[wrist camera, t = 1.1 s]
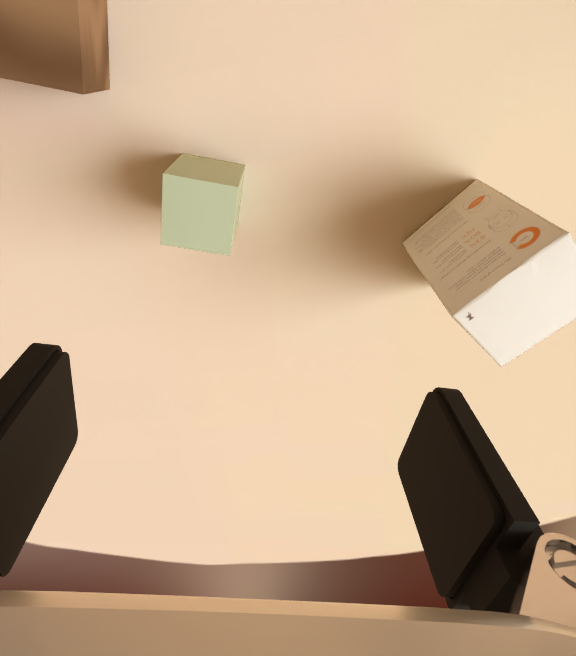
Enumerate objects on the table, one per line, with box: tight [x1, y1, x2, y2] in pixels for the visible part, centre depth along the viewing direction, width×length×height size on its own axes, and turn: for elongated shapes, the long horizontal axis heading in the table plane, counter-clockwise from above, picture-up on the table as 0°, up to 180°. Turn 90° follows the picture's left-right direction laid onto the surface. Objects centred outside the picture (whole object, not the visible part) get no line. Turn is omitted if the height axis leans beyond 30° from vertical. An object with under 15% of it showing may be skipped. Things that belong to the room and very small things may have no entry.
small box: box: [402, 180, 576, 367], centre depth 32 cm, size 8×6×13 cm
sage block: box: [161, 153, 245, 256], centre depth 32 cm, size 5×5×7 cm
